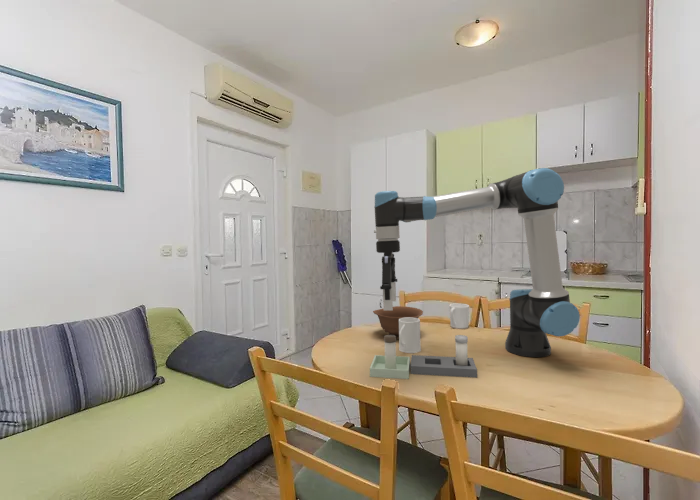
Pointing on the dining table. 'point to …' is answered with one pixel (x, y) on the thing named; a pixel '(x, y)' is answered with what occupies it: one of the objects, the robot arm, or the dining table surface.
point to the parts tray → (400, 372)
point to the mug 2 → (459, 315)
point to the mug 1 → (409, 335)
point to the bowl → (395, 318)
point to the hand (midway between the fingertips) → (390, 305)
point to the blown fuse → (390, 351)
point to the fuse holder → (446, 362)
